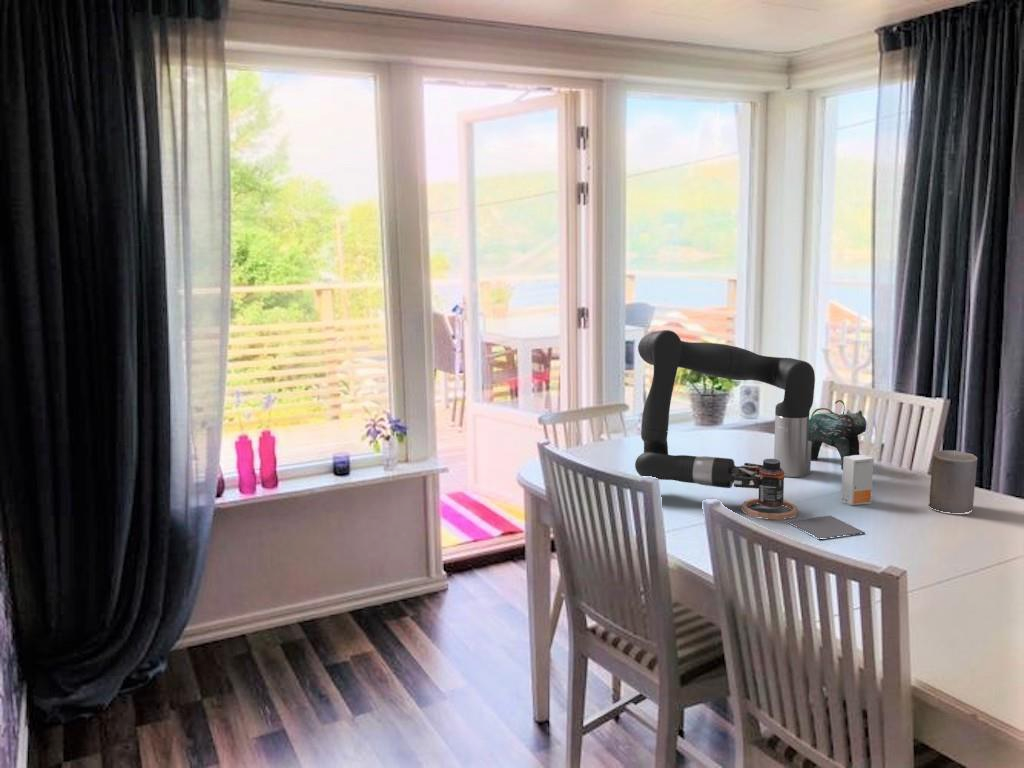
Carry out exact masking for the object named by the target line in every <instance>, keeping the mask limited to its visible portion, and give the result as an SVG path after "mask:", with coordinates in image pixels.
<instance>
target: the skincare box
mask: <svg viewBox="0 0 1024 768" xmlns="http://www.w3.org/2000/svg"><path fill="white" fill-rule="evenodd" d="M874 460H875V458H873V457H870V456H869V455H866V454H860V455H852V456H845V457H844V458H843V470H842V479H841V495H840V497H841V498H840V501H841V502H842V501H843V503H845V504H847V505H849V506H851V505H852V506H859V505H867V503H870V504H871V503H872V491H873V476H874V463H875V461H874Z"/></svg>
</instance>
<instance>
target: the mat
mask: <svg viewBox="0 0 1024 768" xmlns="http://www.w3.org/2000/svg"><path fill="white" fill-rule="evenodd" d="M788 522H789V523H791V524H793V525H795V526H797V527H798V528H800V529H802V530H804V531H806V532H808V533H810V534H812V535H814V536H815V537H817V538H819V539H820V538H830V537H837V536H843V535H853V534H860V533H865V531H863V530H862V529H859V528H857V527H856V526H853V525H851V524H850V523H846V522H845V521H843V520H840V519H839V518H837V517H835V516H832V515H823V516H817V517H812V518H804V519H795V520H789V521H787V523H788ZM789 523H788V524H789ZM798 528H797V529H798ZM800 529H799V530H800ZM860 535H861V534H860ZM853 536H854V535H853Z"/></svg>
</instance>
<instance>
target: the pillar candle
mask: <svg viewBox="0 0 1024 768" xmlns="http://www.w3.org/2000/svg"><path fill="white" fill-rule="evenodd" d="M931 462H932V463H931V473H930V474H931V475H930V487H929V503H928V507H929V506H930V507H931V508H933V509H936V510H939V511H943V512H950V513H965V512H969V511H971V510H973V509H974V503H975V502H974V501H975V488H976V477H977V467H978V457H977V456H976V455H974V454H973V453H968V452H966V451H965V452H964V451H959V450H958V451H957V450H956V449H954V450H951V449H949V450H945V449H943V450H937V451H934V452H933V453H932V461H931ZM930 507H929V508H930ZM931 508H930V509H931ZM933 509H932V510H933ZM973 511H974V510H973Z"/></svg>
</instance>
